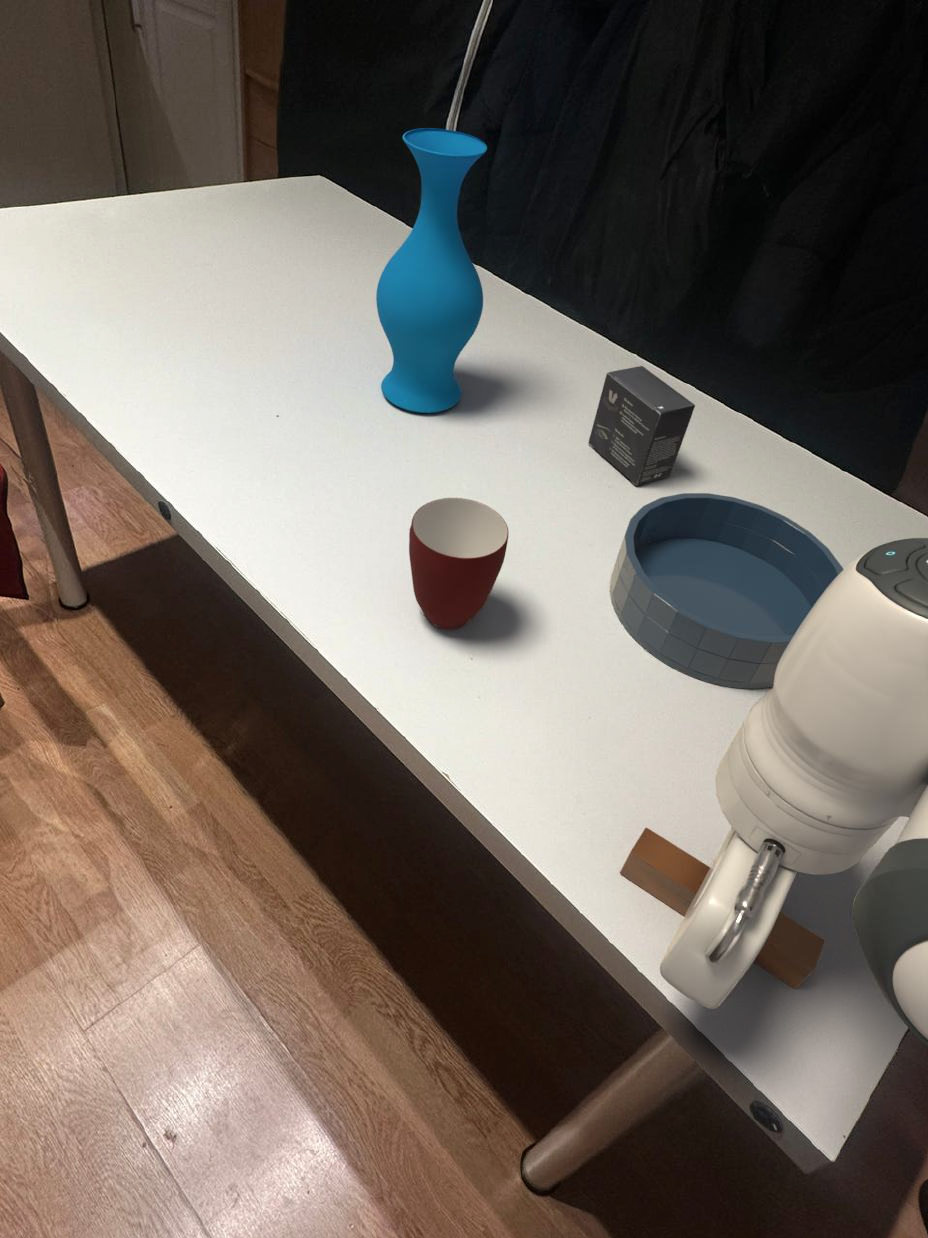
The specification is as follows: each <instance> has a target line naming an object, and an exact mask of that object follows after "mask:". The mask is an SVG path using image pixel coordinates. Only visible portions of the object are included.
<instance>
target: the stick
mask: <svg viewBox="0 0 928 1238" xmlns="http://www.w3.org/2000/svg"><path fill="white" fill-rule="evenodd" d="M710 867H711V866H709V865H708V864H706V863H704V862H702V861H700V860H699V859H697V858H696V857H695V856H693V855H692V854H690V853H688V852H687V851H685V850H683V849H682V848H680V847H678V846H677V845H675V844H674V843H672V842H671V841H669V840H667V839H666V838H664V837H663V836H661V835H659V834H657V833H656V832H655V831H653V830H652V829H650V828H648V827H645V828H644V830H643V831H642V833H641V834H640V835H639V837H638V839H637V841H636V842H635V843H634V845H633V847H632V848H631V850H630V852H629V854H628V855H627V858H626V860H625V862H624V863H623V866H622V867H621V869H620V871H619V874H620V875H621V876H622V877H624V878H626V879H627V880H629V881H630V882H632V883H633V884H635V885H636V886H638V887H640V888H641V889H643V890H644V891H645V892H647V893H648V894H650V895H651V896H653V897H655V898H656V899H658V900H659V901H661V902H662V903H664V904H665V905H667V906H668V907H670V908H671V909H673V910H674V911H676V912H677V913H678V914H680V915H682V916H683V917H684V916H685V914H686V912H687V911H688V909H689V907H690V905H691V903H692V901H693V899H694V897H695V895H696V894H697V892H698V890H699V888H700V886H701V884H702V882H703V880H704V878H705V877H706V875H707V873H708V871H709V869H710ZM825 943H826V939H824V937H822V936H820V935H818V934H817V933H815V932H813V931H812V930H810V929H809V928H807V927H805V926H804V925H803V924H800V923H799V922H798V921H796V920H795V919H793V918H791V917H789V916H788V915H787V914H785V913H783V912H782V911H780V912H779V915H778V917H777V919H776V921H775V924H774V926H773V928H772V931H771V933H770V934H769V936H768V938H767V940H766V942H765V944H764V945H763V947H762V949H761V950H760V952H759V954H758V955H757V957H756V958H755V960H754V961H753V963H755V964H756V965H758V966H759V967H761V968H762V969H764V970H765V971H767V972H769V973H770V974H771V975H773V976H774V977H776V978H778V979H779V980H780V981H782V982H783V983H785V984H786V985H788V986H790V987H791V988H792V989H794V990H795V989H797V988H798V987H799V986H800V985H802V984H803V982H804V981H805V980H806V979H808V977H809V976H810V975H811V974H812V973H813V972H815V971H816V968H817V965H818V962H819V960H820V958H821V957H820V956H821V954H822V952H823V948H824V946H825Z"/></svg>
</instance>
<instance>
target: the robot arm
mask: <svg viewBox="0 0 928 1238" xmlns="http://www.w3.org/2000/svg"><path fill="white" fill-rule="evenodd" d="M843 569H844V570H843V571H842V572H841V573H840V574H839V575H838V576H837V577H836V578H835V579H834V580H833V581H832V582H831V584H830V585H829V586H828V587H827V588H826V590H825V591H824V592H823V594H822V595H821V596H820V598H819V599H818V600H817V602H816V603H815V604H814V606H813V607H812V609H811V610H810V612H809V613H808V615H807V616H806V618H805V619H804V621H803V622H802V623H801V625H800V627H799V628H798V630H797V631H796V633H795V634H794V636H793V638H792V639H791V641H790V643H789V644H788V646H787V648H786V649H785V651H784V653H783V654H782V656H781V658H780V660H779V662H778V665H777V668H776V671H775V676H774V684H773V687H771V689H770V690H768V691H767V692H766V693H765V694H764V695H762V696H761V697H760V698H759V699H757V701H756V702H755V703H754V704H753V705H752V707H751V709H750V710H749V711H748V713H747V715H746V717H745V719H744V720H743V722H742V723H741V726H740V727H739V729H738V731H737V732H736V734H735V736H734V737H733V739H732V741H731V743H730V744H729V747H728V748H727V750H726V752H725V753H724V755H723V757H722V758H721V760H720V762H719V764H718V767H717V768H716V769H717V770H716V773H715V781H714V782H715V783H714V784H715V793H716V798H717V801H718V804H719V806H720V809H721V811H722V814H723V815H724V817H725V819H726V821H727V823H728V824H729V826H731V827H730V829H729V831H728V833H727V835H726V837H725V839H724V841H723V843H722V845H721V846H720V848H719V850H718V852H717V854H716V855H715V857H714V860H713V861H712V863H711V865H710V866H709V867H710V869H709V871H708V873H707V875H706V877H705V878H704V880H703V882H702V884H701V886H700V888H699V890H698V892H697V894H696V895H695V897H694V899H693V901H692V903H691V905H690V907H689V909H688V911H687V912H686V914H685V916H684V915H683V918H682V920H681V922H680V924H679V926H678V928H677V929H676V931H675V933H674V935H673V936H672V938H671V941H670V943H669V944H668V946H667V948H666V950H665V952H664V953H663V956H662V958H661V961H660V964H659V973H660V975H661V977H662V978H663V979H664V980H665V981H666V982H667V983H668V984H669V985H670V986H671V987H673V988H674V989H675V990H676V991H678V992H680V993H681V994H682V995H683V996H685V997H686V998H688V999H690V1000H691V1001H692V1002H694V1003H696V1004H698V1005H699V1006H701V1007H704V1008H706V1009H708V1010H715V1009H717V1008H719V1007H720V1006H721V1005H722V1004H723V1002H725V1000H726V999H727V997H728V996H729V995H730V994H731V992H732V991H733V990H734V988H735V987H736V986H737V985H738V983H739V982H740V981H741V979H742V978H743V977H744V975H745V974H746V972H747V971H748V970H749V969H750V967H751V966H752V964H753V963H754V962H753V961H754V960H755V958H756V957H757V955H758V954H759V952H760V950H761V949H762V947H763V945H764V944H765V942H766V940H767V938H768V936H769V934H770V933H771V931H772V928H773V926H774V924H775V921H776V919H777V917H778V915H779V912H781V909H782V907H783V906H784V903H785V901H786V899H787V897H788V894H789V891H790V890H791V887H792V885H793V882H794V880H795V878H796V875H797V873H798V872H799V873H803V874H809V875H832V874H836V873H840V872H844V871H846V870H848V869H851V868H852V867H853V866H855V865H856V864H858V863H859V862H860V861H861V860H862V859H863V857H865V856H866V854H867V853H868V852H869V851H870V850H871V849H872V848H873V847H874V846H875V844H877V842H879V840H881V838H882V837H883V836H884V835H885V834H886V832H887V831H888V830H889V829H890V828H891V827H892V826H893V825H894V824H895V822H897V820H898V819H899V818H901V817H905V818H908V820H907V821H906V823H905V825H904V827H903V828H902V830H901V832H900V834H899V835H898V838H896V840H895V843H894V845H892V846H890V847H889V849H888V850H887V851H886V852H885V853H884V854H883V856H882V858H881V859H880V860H879V861H878V863H877V864H876V866H875V868H874V869H873V870H872V871H871V873H870V874H869V876H868V877H867V878H866V880H865V882H864V883H863V884H862V886H861V887H860V888H859V889H858V891H857V893H856V895H855V897H854V900H853V902H852V903H853V904H852V922H853V927H854V931H855V934H856V937H857V940H858V942H859V945H860V948H861V951H862V954H863V956H864V958H865V961H866V963H867V965H868V967H869V970H870V971H871V974H872V976H873V978H874V980H875V982H876V984H877V985H878V987H879V989H880V991H881V992H882V994H883V996H884V998H885V999H886V1001H887V1002H888V1004H890V1006H891V1008H892V1009H893V1010H894V1012H895V1013H896V1015H897V1016H898V1017H899V1019H900V1020H901V1021H902V1022H903V1023H904V1025H905V1026H906V1027H907V1028H908V1029H909V1031H911V1033H912V1034H913V1035H914V1036H915V1037H917V1039H918V1040H919V1041H920V1042H922V1043H923V1044H924V1045H925V1046H926V1047H928V537H912V538H903V539H897V540H894V541H889V542H886V543H883V544H879V545H878V546H876V547H873V548H872V549H871V548H870V550H868V551H866V552H865V553H863V554H861V555H859V556H858V557H857V558H856V559H854V560H853V561H851V562H850V563H849V564H848V565H847V566H846V567H845V568H843Z"/></svg>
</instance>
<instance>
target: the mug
mask: <svg viewBox="0 0 928 1238" xmlns="http://www.w3.org/2000/svg"><path fill="white" fill-rule="evenodd" d="M508 541H509V527H508V525H507V522H506V521H505V519H504V517H502V515H501V514H500V513H498V512H497V511H496V510H495V509H493V508H492V507H490V506H488V505H487V504H484V503H483V502H479V501H476V500H473V499H468V498H463V497H443V498H438V499H434V500H431V501H429V502H426V503H425V504H423V505H422V506H420V507H419V508H418V509H417V510H416V511H415V513H414V514H413V516H412V519H411V524H410V527H409V535H408V554H409V564H410V565H409V566H410V572H411V581H412V588H413V593H414V594H413V595H414V597H415V600H416V603H417V604H418V606H419V608H420V610H421V611H422V613H423V615H424V616H425V618H426V619H427V620H428V621H429V622H430V623H431V624H432V625H433V626H435V627H438V628H440V629H444V630H456V629H459V628H462V627H464V626H465V625H467V624H468V623H469V622H470V621H471V620H473V619H474V618H475V617H476V616H477V615H478V614H479V613H480V611H481V610H483V608H484V606H485V605H486V603H487V601H488V599H489V597H490V595H491V592H492V590H493V588H494V586H495V583H496V581H497V579H498V577H499V574H500V573H501V569H502V567H503V564H504V561H505V557H506V553H507V547H508V543H509V542H508Z"/></svg>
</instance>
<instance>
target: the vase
mask: <svg viewBox="0 0 928 1238" xmlns="http://www.w3.org/2000/svg"><path fill="white" fill-rule="evenodd" d="M402 140H403V142H404V143H405V145H406V146H407V148H408V149H409V151H410V153H411V154H412V155H413V157H414V159H415V160H414V161H415V162H416V164H417V167H418V170H419V173H420V174H419V175H420V180H421V198H420V207H419V211H418V215H417V218H416V220H415V223H414V225H413V227H412V229H411V231H410V233H408V236H407V237H406V239H405V240H404V242H403V243H402V244H401V246H399V248H398V249H397V250H396V251H395V252H394V254H392V256H391V258H390V259H389V260H388V261H387V263H386V265H385V266H384V268H383V270H382V272H381V274H380V277H379V279H378V283H377V287H376V297H375V298H376V299H375V300H376V301H375V302H376V310H377V315H378V319H379V322H380V325H381V327H382V329H383V330H382V331H383V332H384V335H385V336H386V339H387V341H388V343H389V346H390V348H391V352H392V357H393V362H392V367H391V370H390V371H389V372H388V373H387V374H386V375H385V376H384V378H383V379H382V381H381V384H380V390H381V392H382V395H383V396H384V397H385V398H386V399H387V400H388V401H389V402H391V403H392V404H393V405H394V406H396V407H398V408H400V409H403V410H405V411H409V412H413V413H421V414H432V413H433V414H434V413H440V412H443V411H446V410H448V409H450V408H453V407H454V406H455V405H457V404H458V402H459V401H460V400H461V397H462V390H461V387H460V385H459V383H458V381H457V380H456V378H455V373H454V372H455V366H456V365H455V364H456V363H457V360H458V358H459V356H460V354H461V353H462V351H463V350H464V348H466V346H467V344H468V343H469V341H470V340H471V338H472V337H473V335H474V334H475V332H476V330H477V329H478V326H479V323H480V320H481V317H482V313H483V310H484V309H483V308H484V291H483V286H482V283H481V282H482V281H481V279H480V276H479V273H478V270H477V269H476V267H475V264H474V263H473V261H472V259H471V258H470V257H471V256H470V255H469V254H468V251H467V250H466V247H465V244H464V242H463V239H462V236H461V233H460V229H459V223H458V203H459V196H460V191H461V187H462V184H463V182H464V179H465V177H466V176H467V173H468V172H469V170H470V168H472V166H473V165H474V164H475V162H476V161H478V159H480V158H481V157H482V156H483V155H484V154H485V153H486V152H487V150H488V146H487V144H486V143H485V142H484V141H482V139H479V138H478V137H475V136H473V135H472V134H471V135H470V134H468V133H464V132H460V131H457V130H451V129H445V128H436V127H435V128H433V127H424V128H422V127H421V128H416V129H411V130H408V131H406V132H405V133H403V135H402Z"/></svg>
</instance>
